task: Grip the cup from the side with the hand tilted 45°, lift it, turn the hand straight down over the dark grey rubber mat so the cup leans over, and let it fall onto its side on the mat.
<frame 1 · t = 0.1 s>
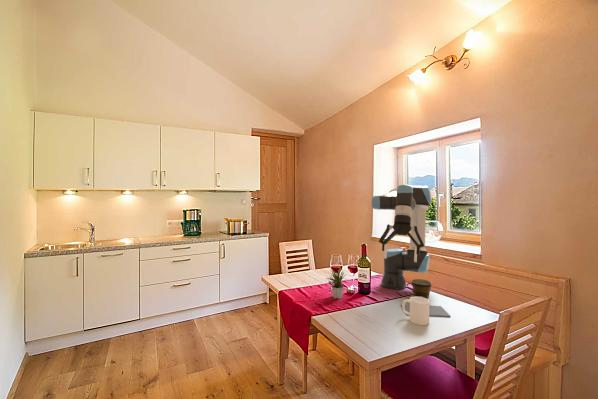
hand: (399, 260, 132), 28 cm above the table, tool tilted 20°, fingers open, 13 cm apart
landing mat: (424, 311, 141), on the table
ceramic cup: (418, 300, 157), on the table
cup: (415, 320, 131), on the table
house plant: (336, 296, 162), on the table
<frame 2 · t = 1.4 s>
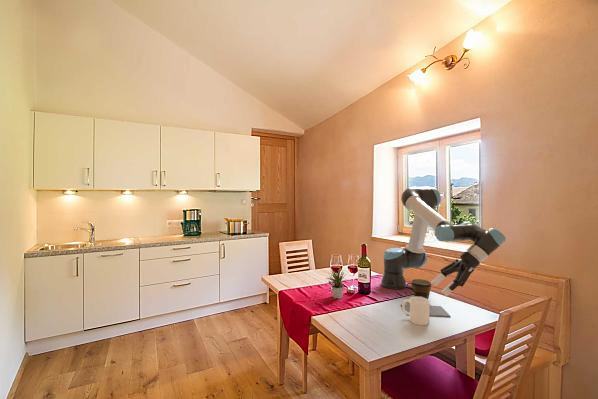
hand: (438, 288, 130), 15 cm above the table, tool tilted 45°, fingers open, 13 cm apart
nothing on the table moved.
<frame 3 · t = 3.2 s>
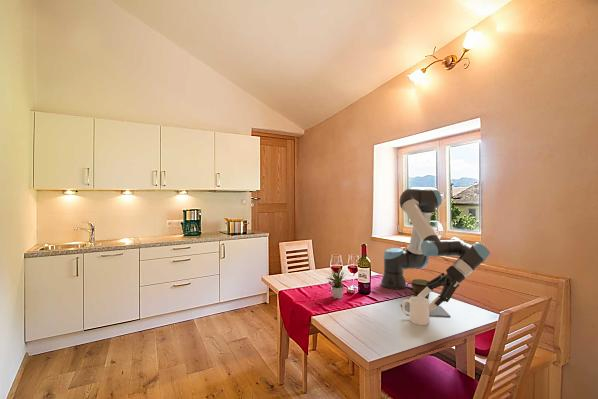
hand: (424, 303, 129), 9 cm above the table, tool tilted 45°, fingers open, 13 cm apart
nothing on the table moved.
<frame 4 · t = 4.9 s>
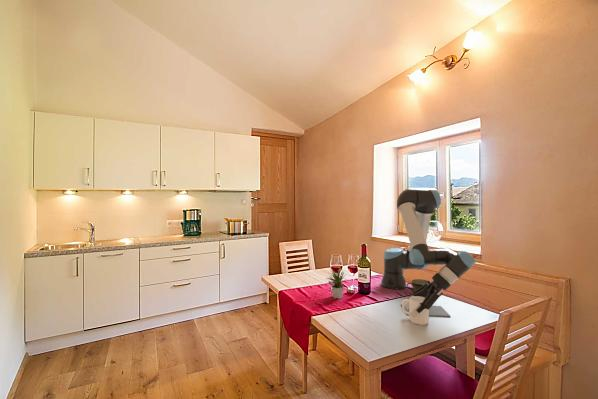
hand: (408, 311, 131), 4 cm above the table, tool tilted 45°, fingers open, 9 cm apart
cup: (414, 320, 131), on the table, touching gripper
everything else where it was.
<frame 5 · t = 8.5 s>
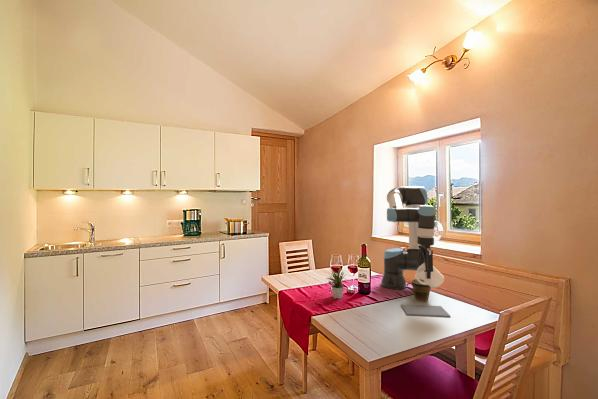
hand: (424, 281, 141), 15 cm above the table, tool pointing down, fingers closed on cup, 8 cm apart
cup: (435, 284, 141), point 13 cm above the table, touching gripper
everything else where it was.
when the fingers open (6 cm above the table, at t = 10.9 s): cup moves 2 cm, resting on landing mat.
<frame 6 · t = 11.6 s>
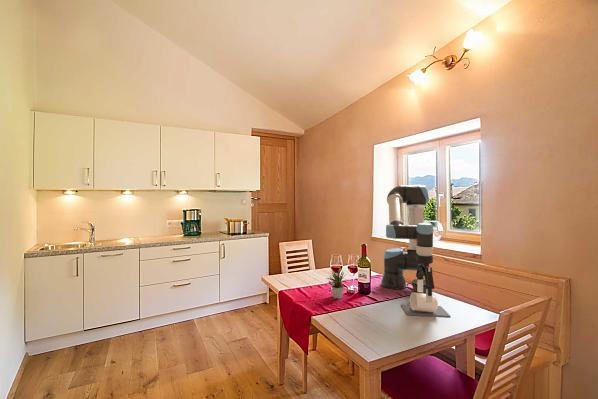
hand: (424, 296, 141), 7 cm above the table, tool pointing down, fingers open, 13 cm apart
cup: (432, 304, 141), point 4 cm above the table, touching gripper, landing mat
everything else where it was.
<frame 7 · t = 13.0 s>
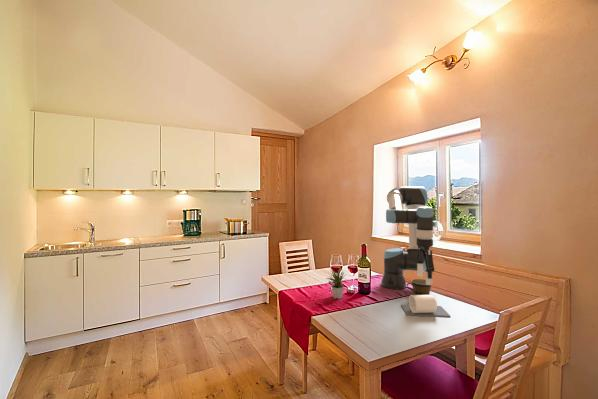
hand: (424, 280, 141), 15 cm above the table, tool pointing down, fingers open, 13 cm apart
cup: (431, 304, 140), point 4 cm above the table, touching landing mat
everything else where it was.
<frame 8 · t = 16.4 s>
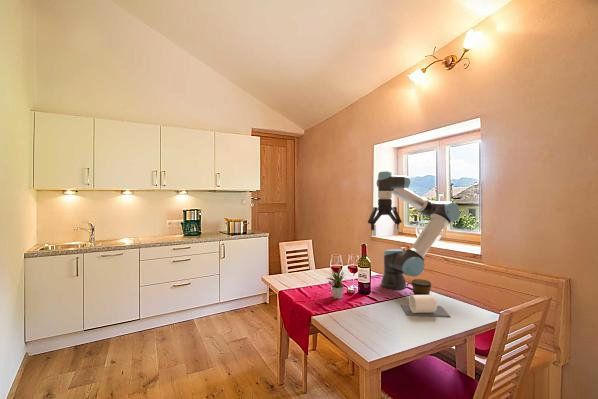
hand: (384, 235, 162), 35 cm above the table, tool pointing down, fingers open, 13 cm apart
nothing on the table moved.
at the end: cup tilted 90°; cup touching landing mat; cup inside the target area on the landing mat (3.2 cm from its centre), point 3.8 cm above the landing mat's base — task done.
